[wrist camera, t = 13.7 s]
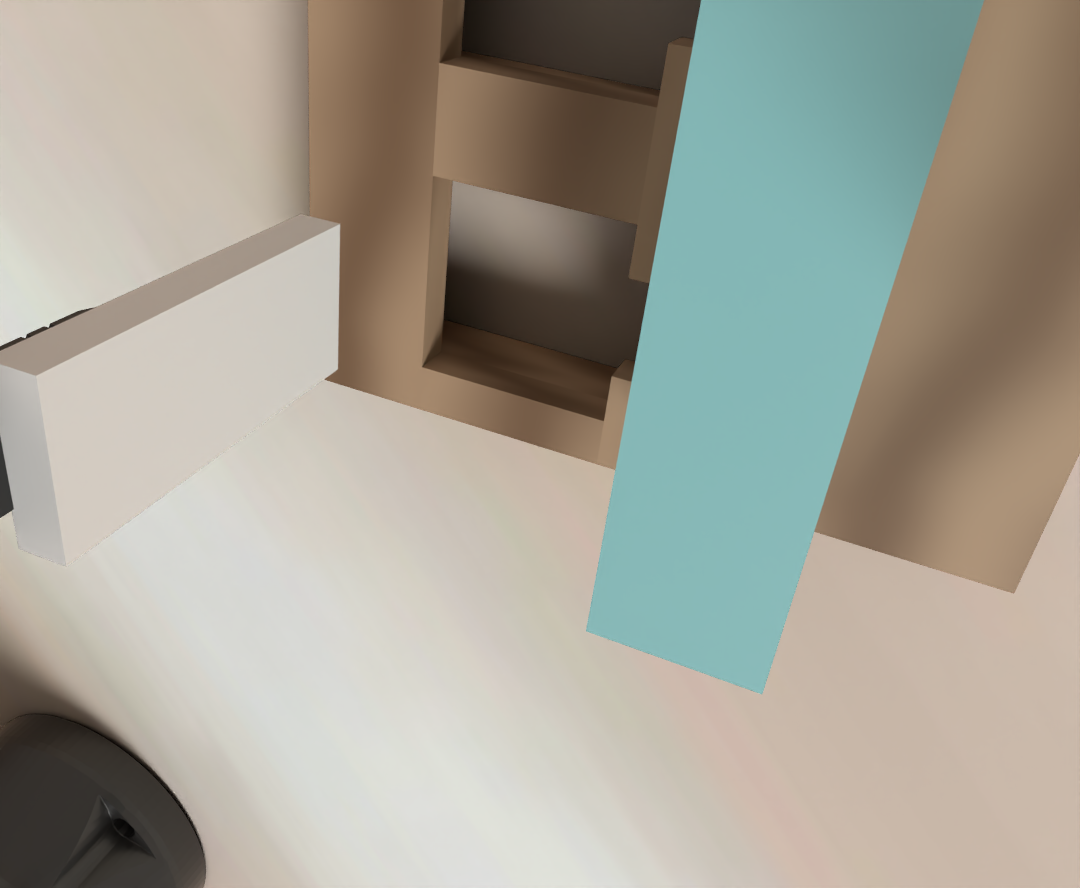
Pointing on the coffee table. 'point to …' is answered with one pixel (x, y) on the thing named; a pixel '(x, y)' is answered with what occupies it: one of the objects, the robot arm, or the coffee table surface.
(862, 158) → the block with headed pegs
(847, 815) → the coffee table surface
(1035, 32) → the keyhole board
